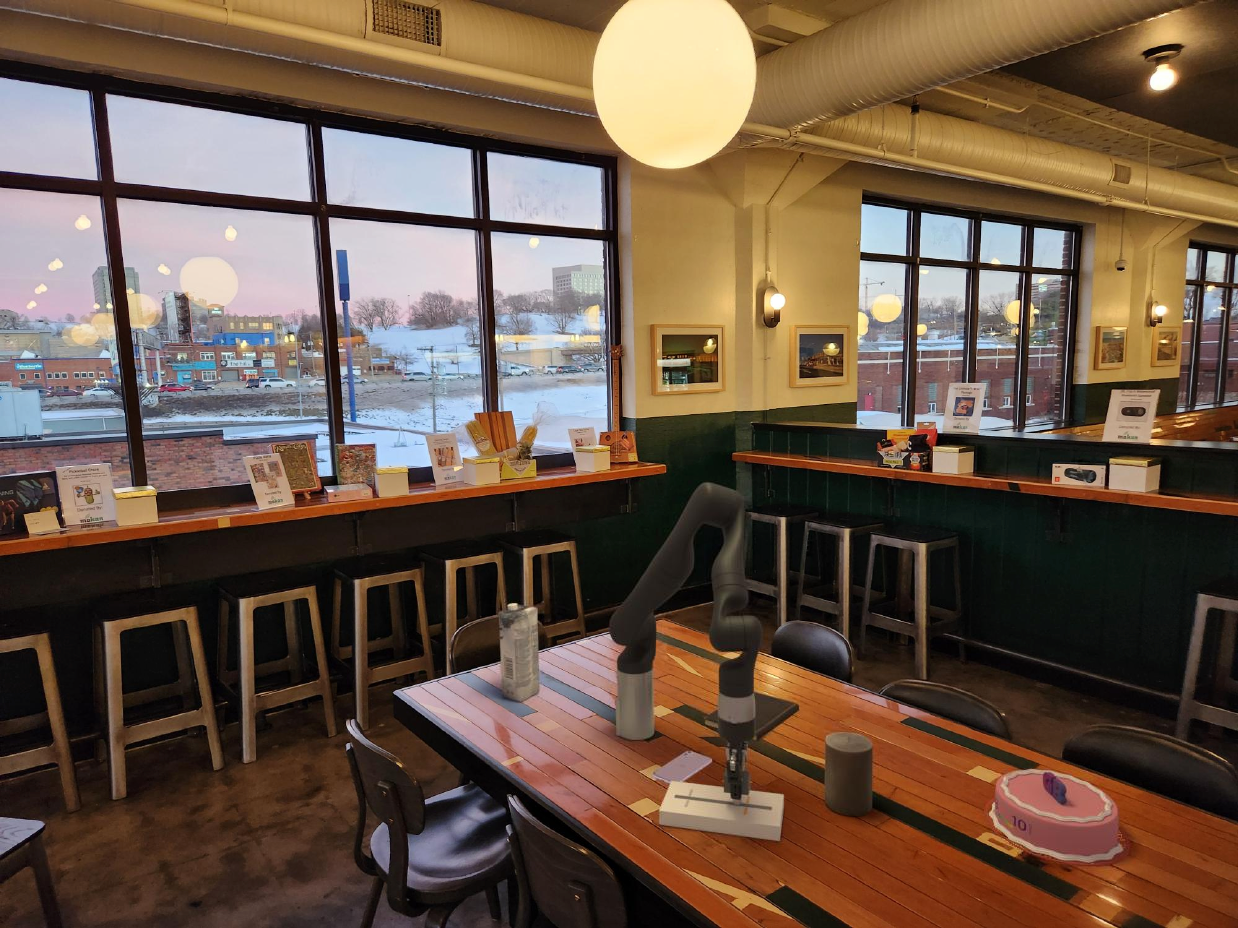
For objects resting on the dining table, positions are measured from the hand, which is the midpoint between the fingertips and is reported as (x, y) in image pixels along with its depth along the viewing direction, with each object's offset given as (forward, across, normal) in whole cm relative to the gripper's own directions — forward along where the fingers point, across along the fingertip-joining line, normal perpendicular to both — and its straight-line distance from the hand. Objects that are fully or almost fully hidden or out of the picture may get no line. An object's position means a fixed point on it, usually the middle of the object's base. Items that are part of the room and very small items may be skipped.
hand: (737, 793), depth 155 cm
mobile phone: (+6, -18, -15) cm, 24 cm away
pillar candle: (+6, -11, +22) cm, 25 cm away
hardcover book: (+6, -49, -2) cm, 50 cm away
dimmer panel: (+5, 0, -3) cm, 6 cm away
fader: (+2, 0, 0) cm, 2 cm away
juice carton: (+6, -49, -69) cm, 85 cm away
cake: (+6, -12, +61) cm, 62 cm away
